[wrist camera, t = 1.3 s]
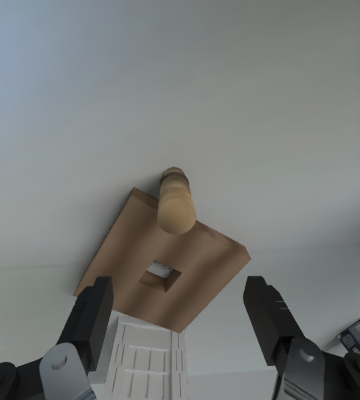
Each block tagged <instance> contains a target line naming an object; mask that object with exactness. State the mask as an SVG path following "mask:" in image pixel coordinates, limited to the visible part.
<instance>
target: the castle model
mask: <svg viewBox="0 0 360 400" xmlns="http://www.w3.org/2000/svg"><path fill="white" fill-rule="evenodd" d="M184 332H185V329H184V330H183V331H182V332H181V333H177V332H174V331H171V330H169V329H166V328H163V327H160V326H157V325H155V324H152V323H149V322H146V321H143V320H141V319H138V318H135V317H128V316H121V315H119V319H118V324H117V329H116V333H115V338H114V343H113V348H112V353H111V357H110V364H109V368H108V373H107V377H106V382H105V386H104V391H103V395H102V399H101V400H189V395H188V380H187V365H186V349H185V334H184Z"/></svg>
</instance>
